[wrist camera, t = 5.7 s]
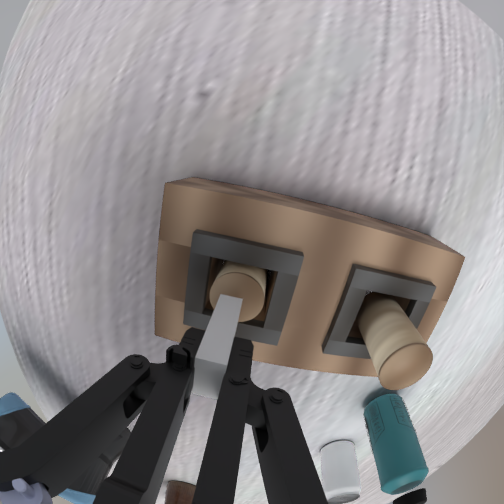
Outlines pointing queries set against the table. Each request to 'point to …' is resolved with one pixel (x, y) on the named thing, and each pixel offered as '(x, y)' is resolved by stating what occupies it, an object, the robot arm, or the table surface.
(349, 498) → the can
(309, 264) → the walnut block
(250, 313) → the peg
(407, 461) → the beverage bottle
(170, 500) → the lamp
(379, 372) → the peg
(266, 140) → the table surface
